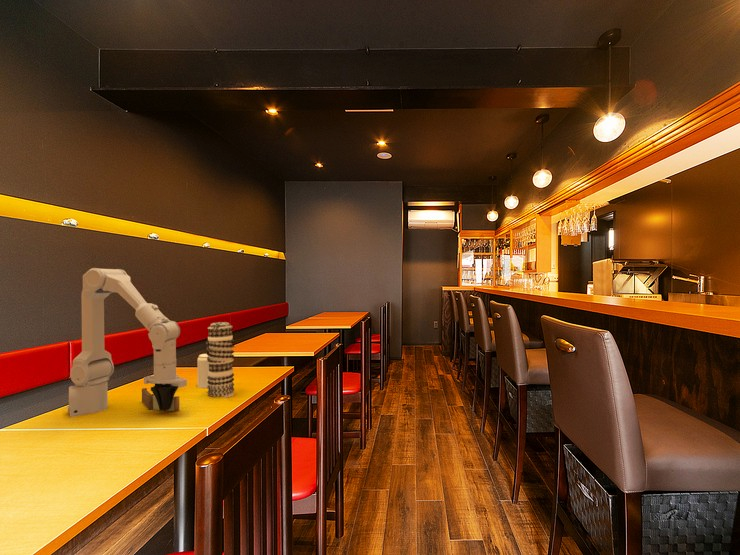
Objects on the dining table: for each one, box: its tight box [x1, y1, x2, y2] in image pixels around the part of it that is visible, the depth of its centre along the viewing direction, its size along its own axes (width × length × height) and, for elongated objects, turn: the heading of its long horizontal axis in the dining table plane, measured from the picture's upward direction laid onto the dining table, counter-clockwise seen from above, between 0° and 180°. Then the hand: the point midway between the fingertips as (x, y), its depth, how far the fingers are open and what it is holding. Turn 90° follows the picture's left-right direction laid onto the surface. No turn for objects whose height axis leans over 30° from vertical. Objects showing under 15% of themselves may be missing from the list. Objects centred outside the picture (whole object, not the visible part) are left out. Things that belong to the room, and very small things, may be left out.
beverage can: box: [196, 353, 209, 389], centre depth 135 cm, size 8×8×12 cm
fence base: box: [141, 387, 154, 410], centre depth 113 cm, size 2×11×4 cm, turn 43°
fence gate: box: [152, 395, 181, 412], centre depth 109 cm, size 9×1×4 cm, turn 77°
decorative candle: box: [205, 321, 235, 399], centre depth 124 cm, size 9×9×25 cm
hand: (165, 409), depth 106 cm, fingers closed, pressing on fence gate
